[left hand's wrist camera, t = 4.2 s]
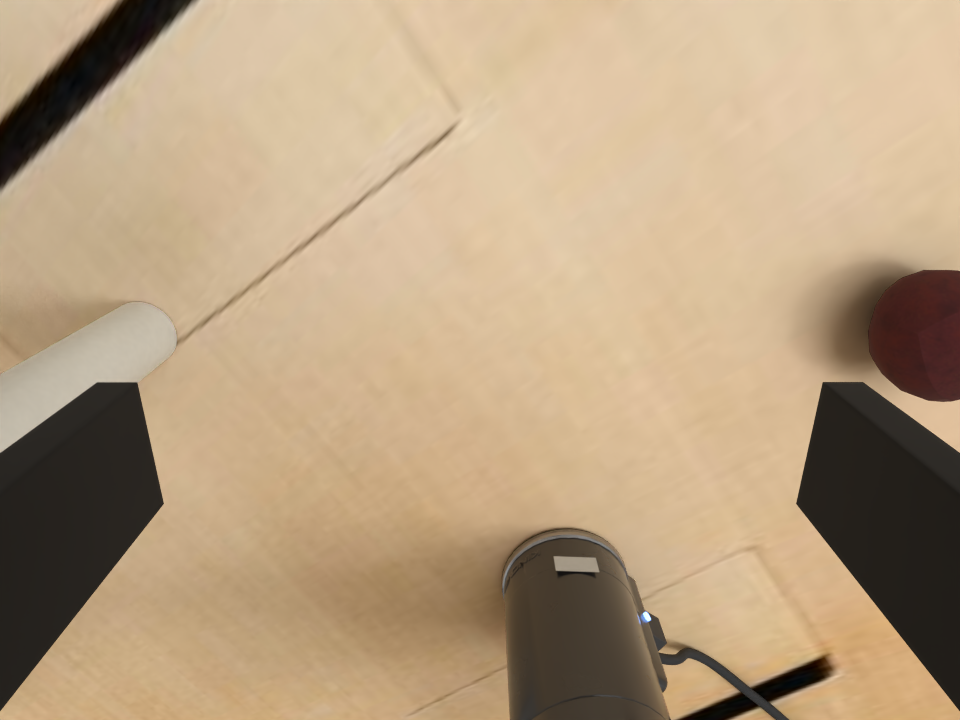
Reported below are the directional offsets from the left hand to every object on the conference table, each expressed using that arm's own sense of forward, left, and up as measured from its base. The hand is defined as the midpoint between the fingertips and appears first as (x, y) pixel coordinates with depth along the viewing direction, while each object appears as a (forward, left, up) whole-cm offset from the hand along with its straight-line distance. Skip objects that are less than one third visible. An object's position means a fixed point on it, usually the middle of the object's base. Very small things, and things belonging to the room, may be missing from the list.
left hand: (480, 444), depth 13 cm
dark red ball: (+6, +27, -28) cm, 39 cm away
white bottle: (+8, -22, -28) cm, 36 cm away
